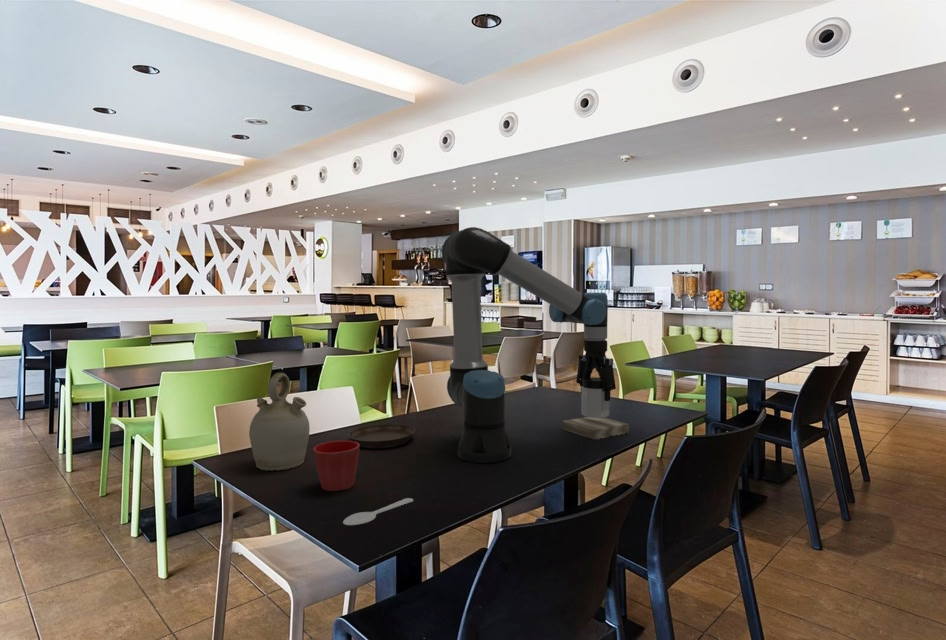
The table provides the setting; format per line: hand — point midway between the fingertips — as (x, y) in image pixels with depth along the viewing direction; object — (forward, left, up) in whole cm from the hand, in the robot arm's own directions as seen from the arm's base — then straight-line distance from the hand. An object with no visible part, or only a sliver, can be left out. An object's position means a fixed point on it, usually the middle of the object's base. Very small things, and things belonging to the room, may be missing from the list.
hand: (595, 408), depth 182 cm
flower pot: (-88, -5, -8) cm, 88 cm away
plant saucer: (-64, +27, -8) cm, 70 cm away
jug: (-96, +20, -8) cm, 98 cm away
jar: (0, 0, -3) cm, 3 cm away
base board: (0, 0, -8) cm, 8 cm away
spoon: (-85, -25, -8) cm, 89 cm away
